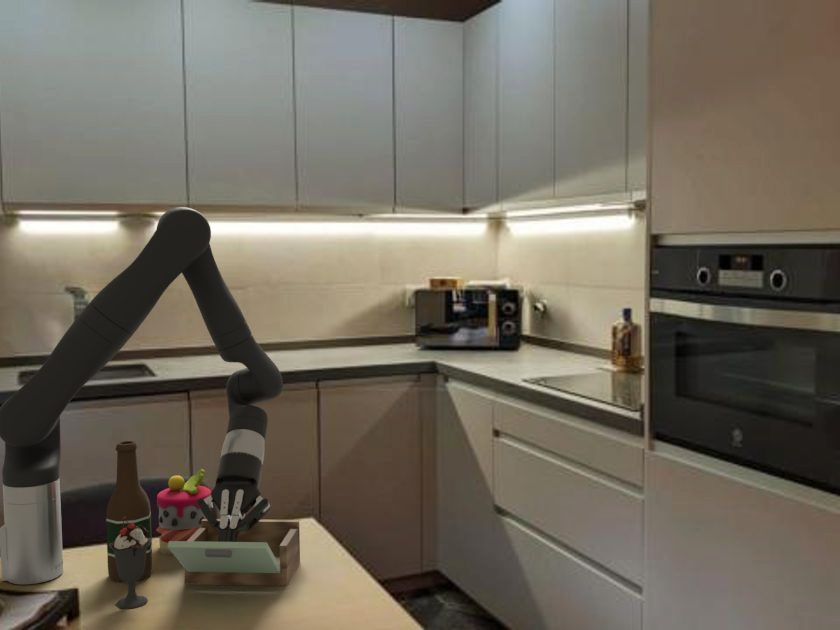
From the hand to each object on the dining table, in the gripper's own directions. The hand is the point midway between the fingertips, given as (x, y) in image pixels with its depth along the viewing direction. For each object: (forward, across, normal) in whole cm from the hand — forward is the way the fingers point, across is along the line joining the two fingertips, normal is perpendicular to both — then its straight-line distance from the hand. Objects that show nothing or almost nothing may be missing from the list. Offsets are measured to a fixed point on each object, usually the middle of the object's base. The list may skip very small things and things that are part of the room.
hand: (225, 553), depth 145 cm
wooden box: (-2, 0, +13) cm, 14 cm away
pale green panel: (0, 0, +7) cm, 7 cm away
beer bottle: (-1, -20, +12) cm, 23 cm away
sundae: (+7, -15, +4) cm, 17 cm away
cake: (-11, -15, +23) cm, 30 cm away
